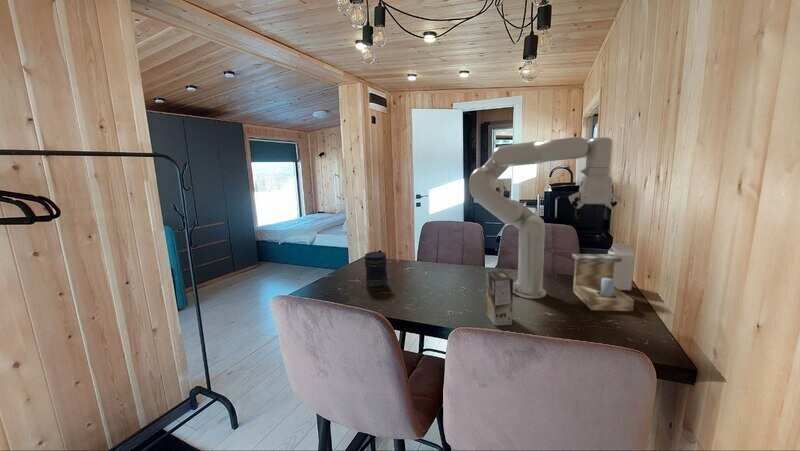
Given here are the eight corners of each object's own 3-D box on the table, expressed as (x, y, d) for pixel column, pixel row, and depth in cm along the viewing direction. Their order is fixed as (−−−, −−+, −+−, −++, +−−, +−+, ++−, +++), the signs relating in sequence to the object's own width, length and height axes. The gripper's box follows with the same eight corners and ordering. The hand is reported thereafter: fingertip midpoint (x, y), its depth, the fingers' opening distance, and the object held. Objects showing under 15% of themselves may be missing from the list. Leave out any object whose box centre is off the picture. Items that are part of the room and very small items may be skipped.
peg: (602, 307, 122) (604, 281, 121) (597, 302, 126) (599, 277, 125) (614, 307, 122) (616, 281, 120) (608, 302, 126) (611, 277, 124)
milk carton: (631, 290, 137) (635, 246, 133) (612, 290, 138) (615, 245, 135) (623, 284, 143) (627, 242, 140) (605, 284, 145) (608, 241, 142)
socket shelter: (588, 309, 120) (591, 267, 118) (570, 290, 138) (572, 254, 136) (636, 311, 118) (640, 268, 115) (611, 291, 136) (614, 254, 133)
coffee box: (512, 324, 111) (514, 279, 109) (494, 326, 111) (495, 280, 108) (502, 313, 120) (503, 270, 118) (485, 314, 120) (485, 271, 117)
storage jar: (389, 282, 157) (387, 251, 154) (386, 289, 147) (384, 257, 144) (368, 282, 158) (366, 251, 155) (364, 289, 148) (362, 257, 145)
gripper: (574, 173, 118) (570, 220, 121) (627, 172, 116) (622, 221, 119) (567, 172, 125) (564, 217, 129) (617, 172, 123) (612, 217, 126)
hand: (591, 218), depth 124 cm, fingers open, 9 cm apart
